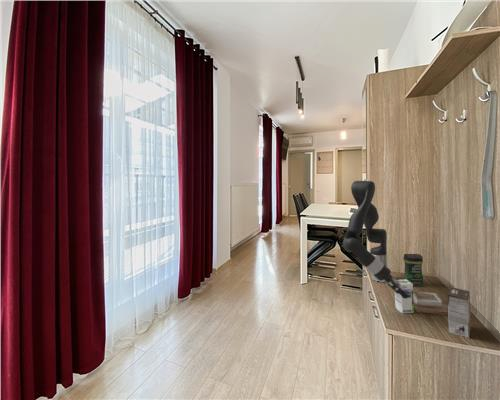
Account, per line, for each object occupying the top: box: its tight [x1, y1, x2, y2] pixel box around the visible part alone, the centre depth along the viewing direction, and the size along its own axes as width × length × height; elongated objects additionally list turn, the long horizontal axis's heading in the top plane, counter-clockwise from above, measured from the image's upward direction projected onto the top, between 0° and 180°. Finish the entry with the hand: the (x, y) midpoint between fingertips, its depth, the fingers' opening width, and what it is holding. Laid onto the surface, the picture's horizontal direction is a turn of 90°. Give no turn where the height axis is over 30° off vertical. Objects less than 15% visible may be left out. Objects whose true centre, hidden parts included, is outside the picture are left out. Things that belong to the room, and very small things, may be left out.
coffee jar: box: [402, 253, 424, 287], centre depth 142 cm, size 10×8×19 cm
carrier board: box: [414, 293, 448, 316], centre depth 119 cm, size 20×14×2 cm
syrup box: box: [394, 278, 415, 314], centre depth 114 cm, size 6×6×14 cm
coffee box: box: [447, 286, 471, 339], centre depth 97 cm, size 9×6×16 cm
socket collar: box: [413, 290, 442, 308], centre depth 118 cm, size 10×10×3 cm
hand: (404, 293), depth 114 cm, fingers open, 8 cm apart
